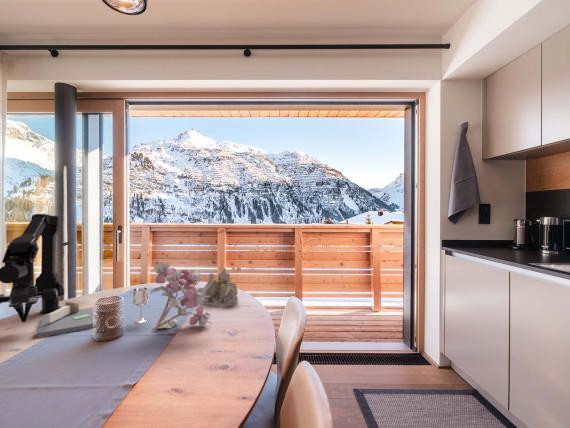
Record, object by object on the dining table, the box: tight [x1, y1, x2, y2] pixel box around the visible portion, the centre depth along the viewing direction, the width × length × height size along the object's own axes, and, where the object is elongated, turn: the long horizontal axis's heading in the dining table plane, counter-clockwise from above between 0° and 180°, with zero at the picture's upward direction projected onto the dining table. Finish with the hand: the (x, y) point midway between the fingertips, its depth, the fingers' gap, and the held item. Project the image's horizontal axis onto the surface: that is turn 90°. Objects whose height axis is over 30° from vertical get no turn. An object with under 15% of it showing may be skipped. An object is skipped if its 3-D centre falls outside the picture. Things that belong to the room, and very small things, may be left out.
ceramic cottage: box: [202, 267, 239, 308], centre depth 140 cm, size 16×16×15 cm
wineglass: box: [131, 287, 150, 324], centre depth 117 cm, size 6×6×12 cm
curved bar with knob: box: [46, 300, 80, 323], centre depth 118 cm, size 15×4×4 cm, turn 2°
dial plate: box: [36, 307, 94, 338], centre depth 116 cm, size 22×16×2 cm
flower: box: [149, 259, 212, 332], centre depth 110 cm, size 20×22×24 cm
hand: (24, 322), depth 108 cm, fingers closed
